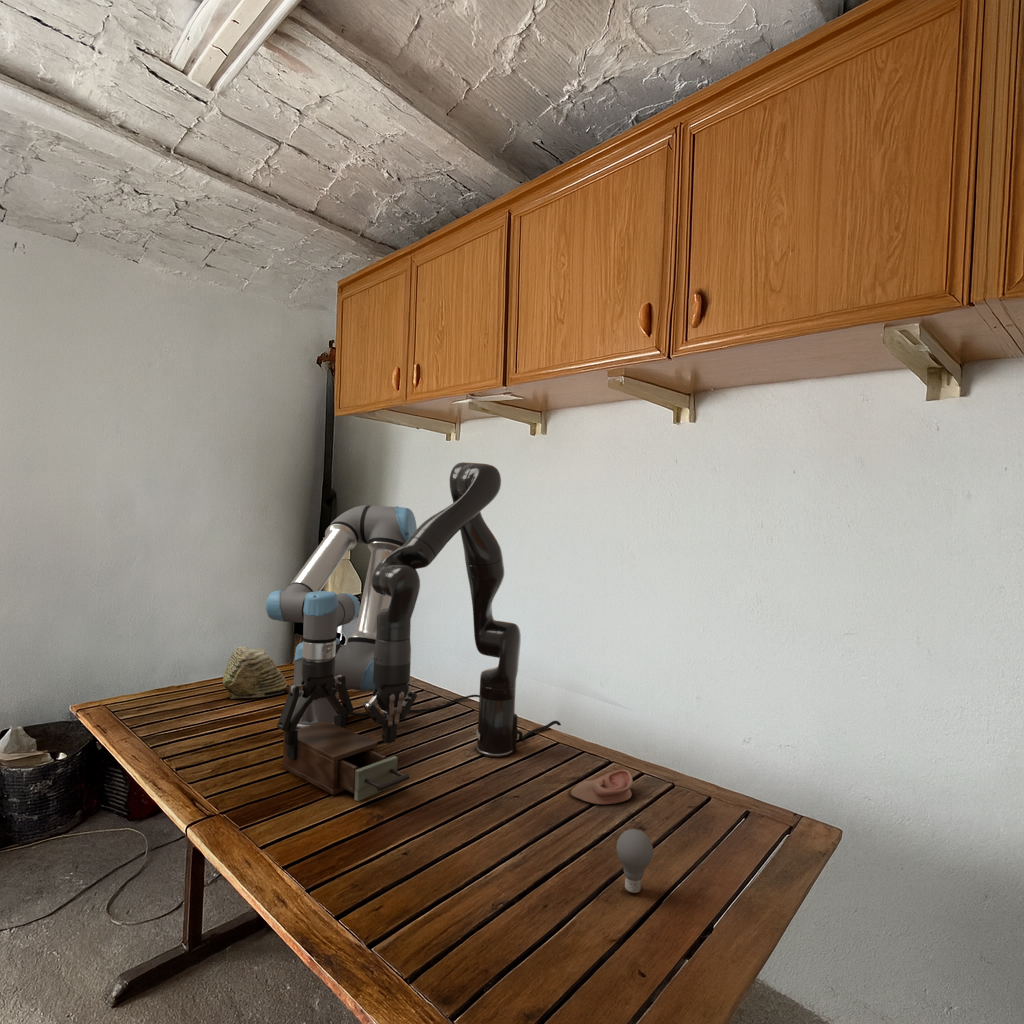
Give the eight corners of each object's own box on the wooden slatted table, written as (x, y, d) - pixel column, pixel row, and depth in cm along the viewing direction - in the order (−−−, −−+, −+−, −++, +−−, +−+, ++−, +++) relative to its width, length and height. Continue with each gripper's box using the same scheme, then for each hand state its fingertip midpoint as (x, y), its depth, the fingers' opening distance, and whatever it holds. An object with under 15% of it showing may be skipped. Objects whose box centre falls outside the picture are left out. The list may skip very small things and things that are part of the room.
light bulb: (610, 879, 108) (613, 822, 108) (644, 879, 109) (647, 822, 109) (619, 902, 102) (622, 840, 102) (655, 901, 103) (658, 840, 103)
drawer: (413, 793, 134) (414, 764, 134) (374, 810, 126) (375, 779, 126) (345, 761, 149) (346, 735, 149) (307, 774, 141) (308, 747, 141)
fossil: (218, 695, 195) (220, 647, 195) (278, 685, 208) (279, 640, 207) (228, 703, 189) (230, 653, 188) (289, 692, 201) (290, 645, 201)
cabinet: (376, 778, 143) (377, 742, 143) (332, 795, 134) (334, 756, 134) (325, 754, 156) (326, 720, 156) (282, 768, 147) (283, 732, 147)
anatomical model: (569, 782, 136) (575, 761, 148) (568, 800, 136) (574, 778, 148) (632, 790, 134) (633, 768, 145) (631, 809, 134) (632, 785, 145)
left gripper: (280, 670, 137) (277, 770, 137) (370, 653, 155) (367, 741, 155) (262, 664, 141) (259, 760, 142) (351, 647, 160) (348, 733, 160)
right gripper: (378, 668, 124) (374, 756, 124) (428, 657, 134) (425, 738, 134) (354, 661, 129) (351, 745, 129) (404, 650, 139) (401, 729, 139)
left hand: (315, 750), depth 148 cm, fingers closed on cabinet, 11 cm apart
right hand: (389, 741), depth 132 cm, fingers closed
